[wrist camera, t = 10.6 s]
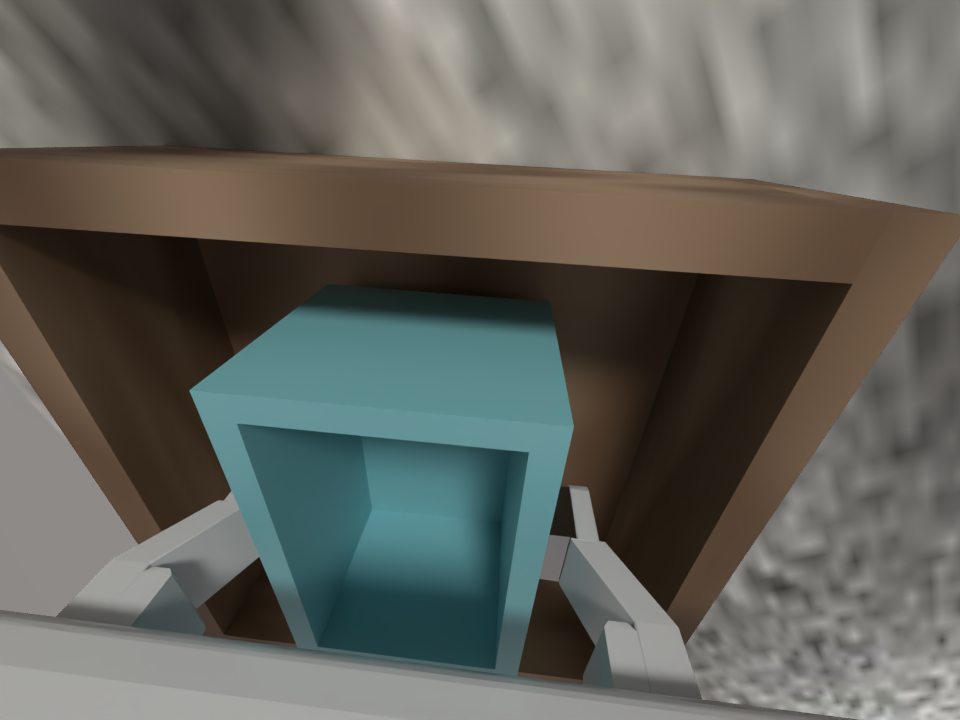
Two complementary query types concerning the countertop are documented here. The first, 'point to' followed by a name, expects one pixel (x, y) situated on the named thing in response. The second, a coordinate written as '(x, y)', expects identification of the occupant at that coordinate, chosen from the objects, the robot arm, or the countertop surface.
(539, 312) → the teal crate
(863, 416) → the countertop surface
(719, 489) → the walnut crate
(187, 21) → the countertop surface
